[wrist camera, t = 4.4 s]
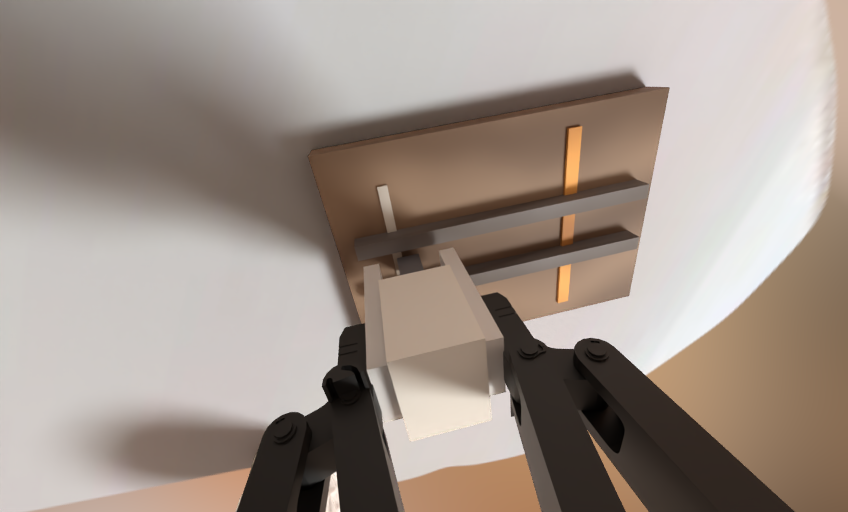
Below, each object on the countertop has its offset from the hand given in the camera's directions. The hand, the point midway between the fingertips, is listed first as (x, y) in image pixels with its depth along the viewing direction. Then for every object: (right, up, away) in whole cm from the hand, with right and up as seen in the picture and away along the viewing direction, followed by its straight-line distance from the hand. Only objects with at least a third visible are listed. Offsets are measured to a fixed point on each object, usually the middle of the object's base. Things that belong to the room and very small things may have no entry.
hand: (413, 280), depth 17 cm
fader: (0, +1, +1) cm, 2 cm away
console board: (+5, +3, +3) cm, 7 cm away
